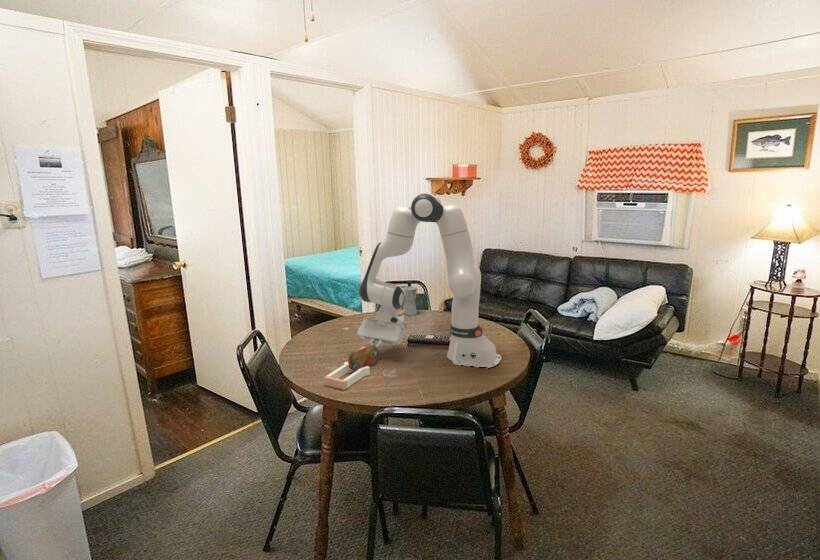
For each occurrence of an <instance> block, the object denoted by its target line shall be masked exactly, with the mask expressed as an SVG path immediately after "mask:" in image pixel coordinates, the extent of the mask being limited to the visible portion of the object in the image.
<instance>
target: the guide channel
mask: <svg viewBox="0 0 820 560" xmlns="http://www.w3.org/2000/svg"><path fill="white" fill-rule="evenodd" d="M349 370H350V368H349V364H348V361H344V363H343V365H341V366H340V367H338V368H336V369H334V370H333V371H332V372H330V373H329V374H327V375H326V376H324V377H323V385H324V386H328V387H331V388H335V389H339V390H344V391H346V390H347V389H348V388H350V387H351V386H353V385H354V384H356V382H358V381H359V380H362V378H364V377H367V376H370V375H371V366H370V367H369V366H367V367H363V368H360V369H358V370H357V371H353V373H351V374H350V375H348V376H347V377H345V378H343V379H341V378H342V377H343V376H344V375H346V374H348V373H349Z"/></svg>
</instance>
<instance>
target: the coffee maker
mask: <svg viewBox="0 0 820 560" xmlns="http://www.w3.org/2000/svg"><path fill="white" fill-rule="evenodd" d="M406 284H407V285H403V286H401V285H399V286H400V287H402V288H403V289H404V291H405V297H404V302H403V305H402V310H404V311H405V313H404V316H408V317H410V316H415V315H417V314H418V313H417V307H416V299H417V294H418V287H416V286H412V281H407V282H406Z"/></svg>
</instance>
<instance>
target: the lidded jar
mask: <svg viewBox="0 0 820 560" xmlns="http://www.w3.org/2000/svg"><path fill="white" fill-rule="evenodd" d="M404 313H405V311H404V310H403V308H401V310H400V311H399V313H398V319H400V320H401V321H402V323H403V324H404V321H405V315H404Z"/></svg>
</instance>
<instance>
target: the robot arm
mask: <svg viewBox="0 0 820 560" xmlns="http://www.w3.org/2000/svg"><path fill="white" fill-rule="evenodd" d="M410 204H411V205H410V206H398V207H396V208H395V209H394V210H393V212H392V214H391V216H390V221H389V223H388V228H387V231H386V232H387V233H386V235H385V238H384V239H383V240H382V241H381V242H378V243H377V244H376V247H375V249H374V251H373V254H372V256H371V259H370V261H369V264H368V267H367V269H366V272H365V275H364V277H363V280H362V281H361V284H360V286H359V290H358V295H359V296H360V298H361V299H362V301H363V302H367V303H370V304H371V303H373V304H376V305H380V308H379V309H378V311H377V313H376V315H375V318H372V317H371V318H370V317H367V318H364V319H363V321H362V323H361V324H360V326H359V328H358V330H357V332H356V334H357V336H358V337H359V338H360V339H365V340H369V341H370V345H374V346H376V347H377V349H378V350H380V348H381V347H382V346H384V343H385V344H389V345H390V344H391V345H396V346H400V345H401V344H402V342H403V339H404V335H405V332H404V331H405V329H406V326H405V324H404V322H403V323H402V321H401V320H400V319H398V313H399V311H400V310H401V309H403V304H404V297H405V291H404V289H403V288H402V287H400V286H401V285H397V284H394V283H390V282H385V281H382V280H378V279H377V275H378V274H379V269H380V268H381V264H382V262H383V261H384V260H385V259H387V258H393V257H399V256H403V255H405V254H407V253H408V252H409V251H410V250H411V249H412V246H413V244H414V239H415V235H416V230H417V226H418V225H419V223H421V222H423V223H436V225H437V227H438V230H439V234H440V237H441V238H440V239H441V242H442V246H443V251H444V255H445V262H446V263H445V264H446V271H447V277H448V279H447V280H448V286H449V291H450V292H451V293H452V296H453V297H452V304H451V311H450V312H451V316H450V317H451V323H450V326H449V337H450V339H449V340H450V341H449V346H448V351H447V354H446V358H447V359H448V360H450V361H451V362H452V364H453V365H455V366H461V365H463V366H464V367H470V366H474V367H473V368H479V367H488V368H489V367H493V366H495V365H497V364H498V363H499V362H500V360H501V361H502V356H501V355H500V354H499V353H497V349H496V345H495V344H494V343H493V342H492V341H491V340H490V339H488V338H487V337H486V336H485V335H484V334H483V332H484V331H483V330H484V326H482V327H481V326H480V324H479V305H480V298H481V287H482V286H481V284H482V272H481V269H480V268H479V266H478V265H476V264H475V261H474V253H473V251H474V250H473V244H472V241H471V237H470V232H469V228H468V224H467V221H466V219H465V215H464V213H463V211H462V209H461V207H459V206H458V205H457V204H447V205H443V204H442V203H441V199H439V197H437V196H436V195H434V194H432V193H430V192H429V193H428V192H424V193H420V194H418V195H417V196H415V197H414V199H412V201H411V203H410ZM376 342H378V343H377V344H376ZM375 344H376V345H375ZM498 357H500V358H498ZM500 363H501V362H500ZM463 366H462V367H463ZM488 368H487V369H488Z"/></svg>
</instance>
